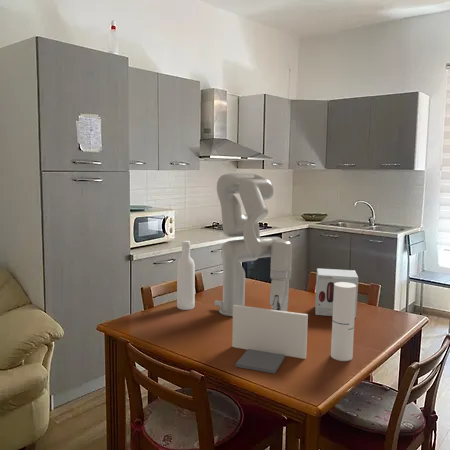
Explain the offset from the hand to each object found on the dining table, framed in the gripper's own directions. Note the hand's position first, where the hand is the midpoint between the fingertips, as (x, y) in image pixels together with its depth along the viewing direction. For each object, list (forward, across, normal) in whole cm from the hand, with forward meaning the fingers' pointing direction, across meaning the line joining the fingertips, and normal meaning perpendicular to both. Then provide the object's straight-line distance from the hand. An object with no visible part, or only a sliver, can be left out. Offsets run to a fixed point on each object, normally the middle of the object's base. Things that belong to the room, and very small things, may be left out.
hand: (279, 321), depth 175 cm
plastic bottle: (+7, 0, 0) cm, 7 cm away
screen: (+6, +14, 0) cm, 15 cm away
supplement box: (+7, -40, +15) cm, 43 cm away
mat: (+7, +23, 0) cm, 24 cm away
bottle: (+7, -20, -48) cm, 52 cm away
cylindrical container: (+7, +8, +24) cm, 26 cm away
